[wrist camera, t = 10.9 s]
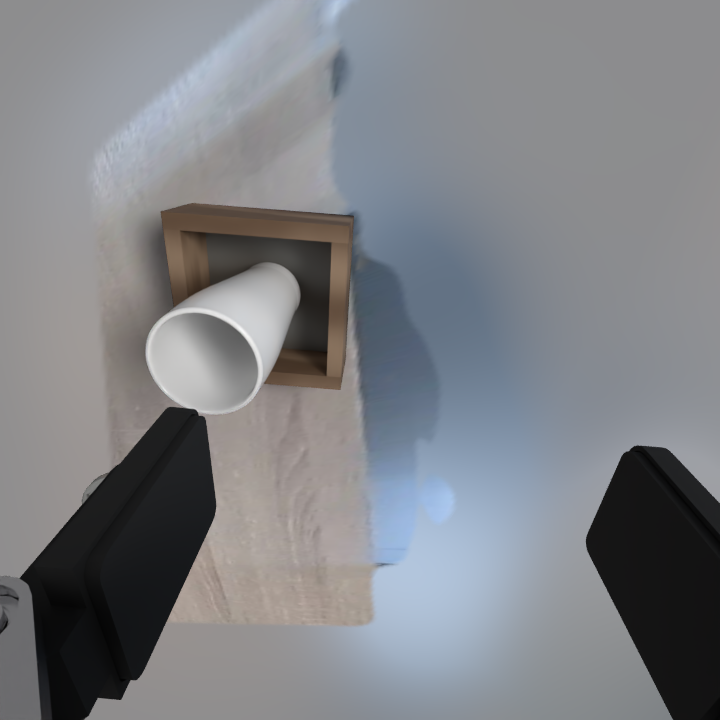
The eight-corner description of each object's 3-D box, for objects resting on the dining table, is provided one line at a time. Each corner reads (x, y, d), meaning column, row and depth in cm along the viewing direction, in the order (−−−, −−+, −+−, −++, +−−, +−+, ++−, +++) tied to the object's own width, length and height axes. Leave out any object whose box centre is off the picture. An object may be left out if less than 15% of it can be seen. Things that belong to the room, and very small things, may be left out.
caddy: (345, 360, 40) (340, 389, 35) (207, 349, 40) (183, 377, 36) (353, 215, 34) (349, 226, 29) (192, 203, 34) (160, 211, 30)
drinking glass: (296, 338, 38) (245, 433, 25) (225, 310, 38) (133, 392, 24) (321, 270, 36) (279, 335, 22) (245, 239, 35) (153, 286, 21)
